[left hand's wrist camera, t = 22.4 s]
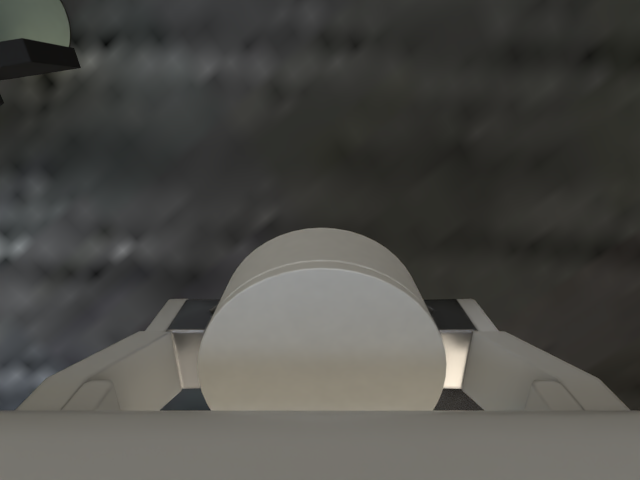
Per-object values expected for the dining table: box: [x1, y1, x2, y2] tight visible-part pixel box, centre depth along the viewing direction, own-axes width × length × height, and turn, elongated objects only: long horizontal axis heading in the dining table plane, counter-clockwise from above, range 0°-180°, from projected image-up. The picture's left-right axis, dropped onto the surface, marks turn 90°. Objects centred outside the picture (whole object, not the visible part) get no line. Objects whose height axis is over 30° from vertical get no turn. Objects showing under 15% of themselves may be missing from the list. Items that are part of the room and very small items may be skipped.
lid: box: [197, 228, 447, 411], centre depth 9 cm, size 6×6×2 cm
